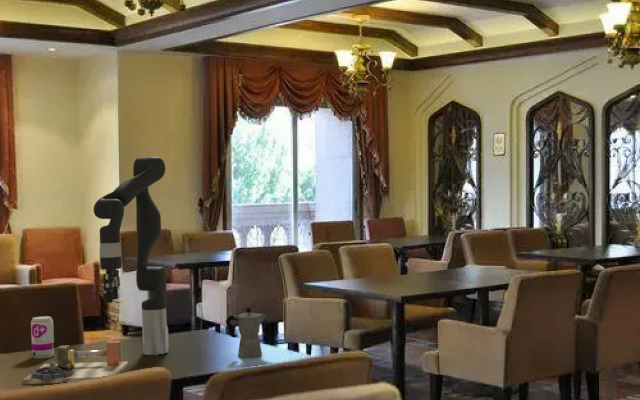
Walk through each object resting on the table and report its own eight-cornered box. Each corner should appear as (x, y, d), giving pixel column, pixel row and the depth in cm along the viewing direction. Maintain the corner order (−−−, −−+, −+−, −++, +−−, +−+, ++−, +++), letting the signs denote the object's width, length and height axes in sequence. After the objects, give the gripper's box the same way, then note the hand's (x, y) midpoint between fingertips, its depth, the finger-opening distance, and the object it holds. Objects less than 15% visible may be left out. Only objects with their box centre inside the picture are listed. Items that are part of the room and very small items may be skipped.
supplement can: (47, 359, 336) (46, 319, 336) (28, 358, 338) (26, 319, 337) (58, 354, 344) (56, 316, 343) (38, 354, 346) (37, 315, 345)
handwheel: (69, 367, 312) (68, 346, 312) (80, 375, 300) (79, 353, 300) (27, 373, 304) (26, 352, 304) (37, 381, 292) (36, 358, 292)
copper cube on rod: (121, 362, 318) (120, 340, 318) (118, 365, 314) (117, 342, 314) (70, 364, 318) (69, 342, 318) (67, 366, 314) (66, 344, 314)
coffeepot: (263, 351, 338) (261, 304, 338) (270, 356, 329) (269, 307, 329) (224, 355, 333) (222, 307, 332) (230, 360, 324) (228, 311, 324)
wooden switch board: (128, 365, 320) (127, 342, 320) (113, 381, 296) (112, 356, 296) (45, 368, 320) (44, 345, 320) (23, 384, 296) (22, 359, 296)
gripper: (116, 257, 308) (118, 303, 308) (125, 253, 322) (127, 297, 322) (95, 257, 308) (96, 304, 308) (104, 253, 322) (106, 298, 322)
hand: (112, 300), depth 315 cm, fingers open, 8 cm apart
